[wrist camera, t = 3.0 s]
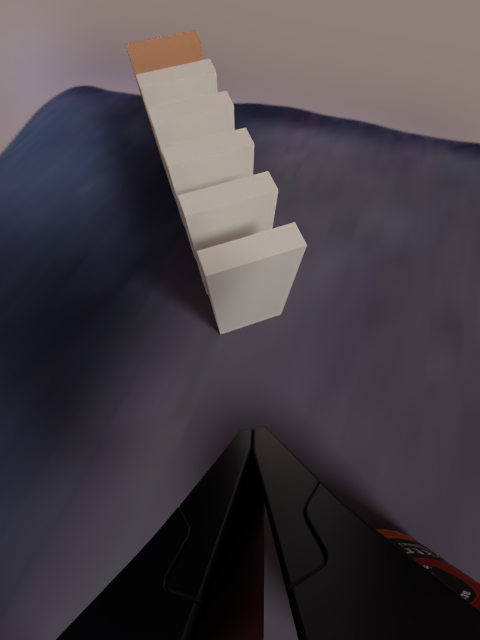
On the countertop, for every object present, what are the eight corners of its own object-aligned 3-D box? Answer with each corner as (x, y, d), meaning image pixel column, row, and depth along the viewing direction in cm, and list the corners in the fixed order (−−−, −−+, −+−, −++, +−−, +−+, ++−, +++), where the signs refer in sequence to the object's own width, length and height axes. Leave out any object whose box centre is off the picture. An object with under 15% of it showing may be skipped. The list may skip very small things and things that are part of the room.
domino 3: (236, 211, 27) (233, 104, 18) (184, 226, 27) (152, 124, 17) (231, 200, 28) (226, 90, 19) (180, 214, 27) (147, 108, 18)
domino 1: (213, 158, 30) (200, 41, 21) (165, 171, 30) (129, 55, 20) (209, 149, 31) (194, 30, 21) (161, 161, 30) (125, 44, 21)
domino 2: (224, 184, 29) (216, 71, 19) (174, 197, 28) (140, 87, 19) (220, 173, 29) (209, 58, 20) (170, 186, 29) (135, 74, 19)
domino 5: (264, 276, 25) (278, 190, 15) (206, 294, 24) (184, 216, 15) (258, 262, 25) (268, 170, 16) (202, 280, 25) (177, 195, 15)
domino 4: (249, 242, 26) (254, 143, 17) (194, 259, 26) (167, 166, 16) (244, 230, 27) (245, 127, 17) (190, 245, 26) (161, 148, 17)
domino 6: (280, 314, 24) (306, 245, 14) (220, 334, 23) (205, 276, 14) (274, 298, 24) (294, 222, 15) (214, 318, 23) (196, 251, 14)
